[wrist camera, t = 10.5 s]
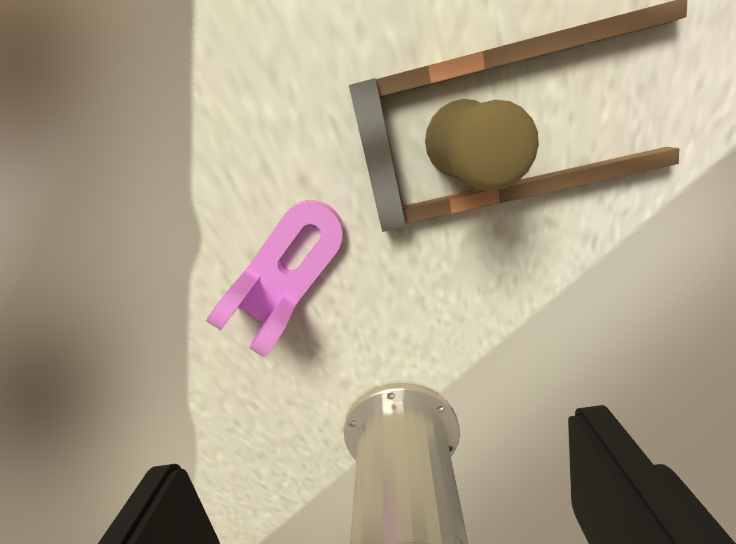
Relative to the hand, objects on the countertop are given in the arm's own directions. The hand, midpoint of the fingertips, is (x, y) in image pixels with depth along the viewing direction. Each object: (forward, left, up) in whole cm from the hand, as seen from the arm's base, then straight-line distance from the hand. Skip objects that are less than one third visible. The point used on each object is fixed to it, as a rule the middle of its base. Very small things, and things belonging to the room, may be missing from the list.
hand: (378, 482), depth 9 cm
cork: (+5, -8, -27) cm, 29 cm away
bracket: (-2, +9, -28) cm, 29 cm away
